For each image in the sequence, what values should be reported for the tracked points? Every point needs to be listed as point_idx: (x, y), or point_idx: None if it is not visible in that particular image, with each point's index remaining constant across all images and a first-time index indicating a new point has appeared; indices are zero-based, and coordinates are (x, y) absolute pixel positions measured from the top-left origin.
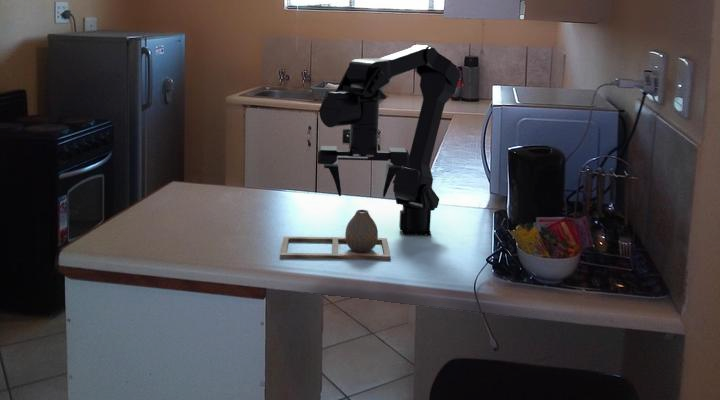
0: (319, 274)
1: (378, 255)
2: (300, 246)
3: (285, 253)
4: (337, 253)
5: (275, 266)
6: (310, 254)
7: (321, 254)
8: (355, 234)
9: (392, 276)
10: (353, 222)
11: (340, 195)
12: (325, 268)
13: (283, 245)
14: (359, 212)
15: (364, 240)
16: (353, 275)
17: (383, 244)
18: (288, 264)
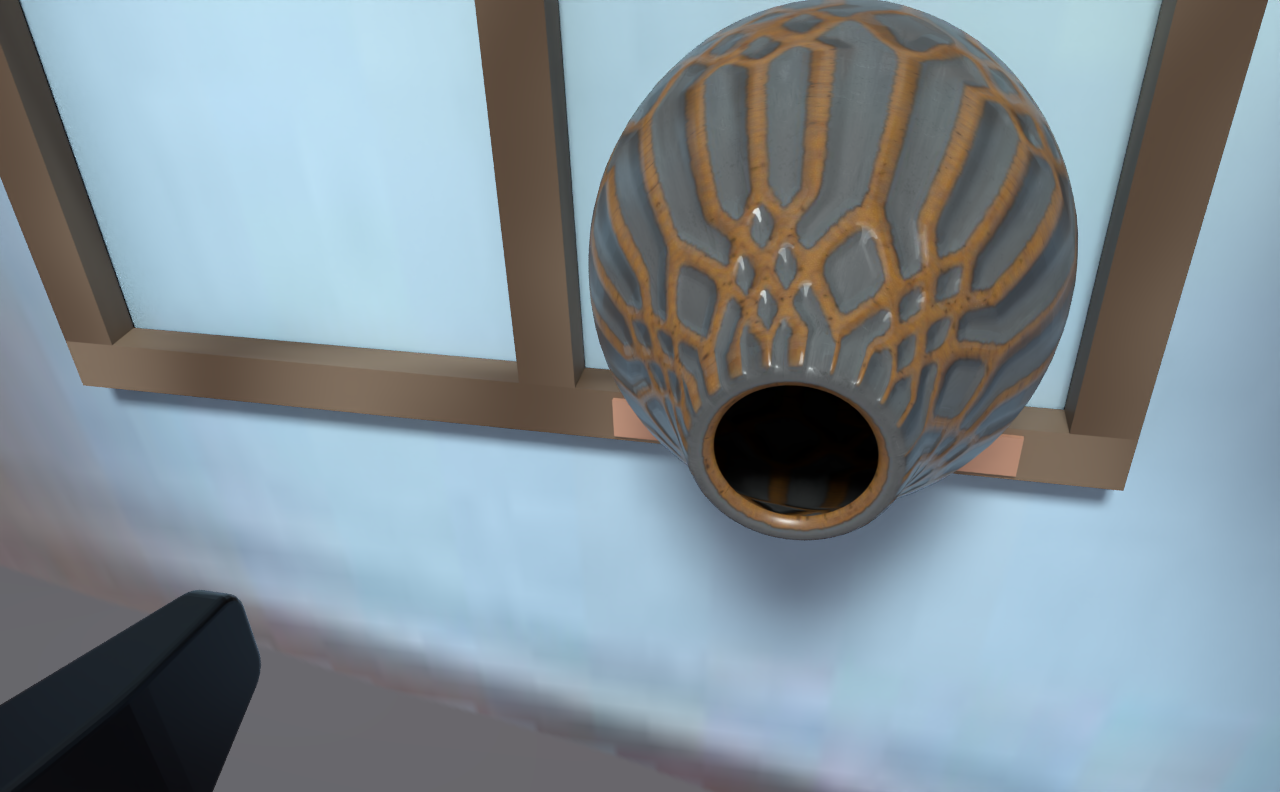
0: (475, 663)
1: (988, 471)
2: (153, 36)
3: (114, 362)
4: (566, 385)
5: (143, 512)
6: (325, 393)
7: (421, 398)
8: (719, 441)
9: (1019, 757)
10: (665, 446)
11: (250, 688)
12: (502, 578)
13: (2, 143)
14: (735, 518)
15: (840, 431)
16: (716, 706)
17: (1166, 96)
18: (216, 485)
